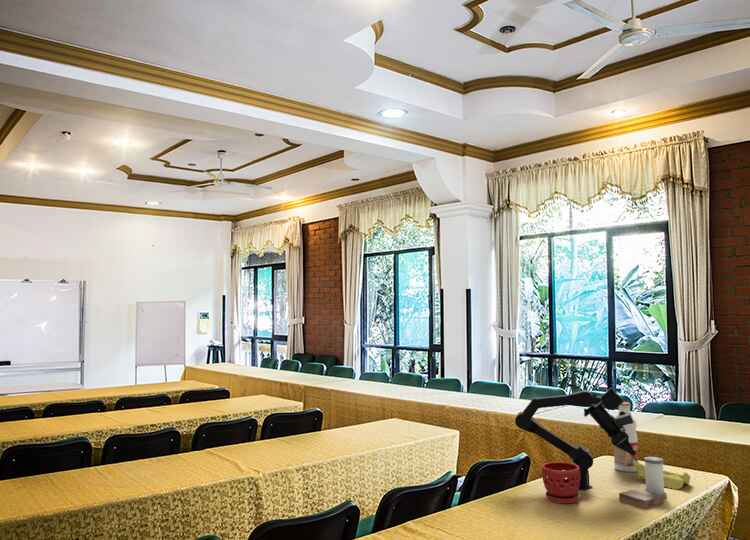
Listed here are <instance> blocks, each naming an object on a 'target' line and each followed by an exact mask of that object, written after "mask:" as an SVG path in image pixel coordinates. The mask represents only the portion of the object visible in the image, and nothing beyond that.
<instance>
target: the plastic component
mask: <svg viewBox="0 0 750 540" xmlns="http://www.w3.org/2000/svg"><path fill="white" fill-rule="evenodd" d="M633 463H634V466H635V468H636V470H637V471H636V472H638V474H639V477H640V478H641V479H643V480H645V464H642V463H639V461H638V462H637V461H635V460H633ZM663 476H664V488H668V489H671V488H672V490H680V489H682V488H683V486H684V485H685V486H686V485H690V482H691V476H690V475H689V473H687V472H683V474H679V473H674V472H670V471H667V470H663Z"/></svg>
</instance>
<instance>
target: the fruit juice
mask: <svg viewBox="0 0 750 540" xmlns="http://www.w3.org/2000/svg"><path fill="white" fill-rule="evenodd" d="M622 411H624V412H625V413H626V414H627V413H630V415H631V417H632V420H633V422H634V423H632V424H627V425H624V426H623V427H624V428H625V432H626V433H627V434H628V436H629V439H628V441H629V442H630V444H631V446H632V447H633V450H634V451H635V453H636V455H634V456H633V455H631V454H630V453H628V452H626V451H624V450H622V449H620V448H618V447H616V446H614V445H613V459H614V462H613V464H614V469H615V470H617V471H619V470H620V471H621V472H624V471H625V472H626V473H635V471H636V472H638V471H637V470H636V468H635V466H634V463H633V460H635V461H637V462H638V463H639V447H638V445H639V443H638V441H639V440H638V433H637V432H636V431H637V425H638V424H637V421H636V419H635V418H634V417H633V415H632V411H631V402H627V401H625V402H624V403H622V404H621V405H620V406H618V412H617V415H616V416H615V417H618V416H619V413H620V412H622ZM624 428H621V430H622V429H624ZM620 471H619V472H620Z"/></svg>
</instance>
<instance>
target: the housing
mask: <svg viewBox="0 0 750 540" xmlns="http://www.w3.org/2000/svg"><path fill="white" fill-rule="evenodd" d="M643 461H644V465H645V479H644V480H645V489H643V491H647V492H650V493H654V494H657V495H661V496H663V499H667V497H668V496H667V495H668V494H667V493H666V492H665V487H664V476H663V471H664V461H665V460H664V458H661V457H657V456H645V457H643Z"/></svg>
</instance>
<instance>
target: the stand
mask: <svg viewBox="0 0 750 540" xmlns="http://www.w3.org/2000/svg"><path fill="white" fill-rule="evenodd" d="M618 496H619V502H620V501H621V502H623V503H627V504H629V503H630V505H633V506H636V507H639V508H642V507H643V508H642V509H648V508H651V506H652V507H655V506H659V505H662V504H664V503H663V502H664V498H663V496H661V495H657V494H654V493H650V492H647V491H644V489H640V488H634V489H631V490H626V491H623V492H619V493H618Z"/></svg>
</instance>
